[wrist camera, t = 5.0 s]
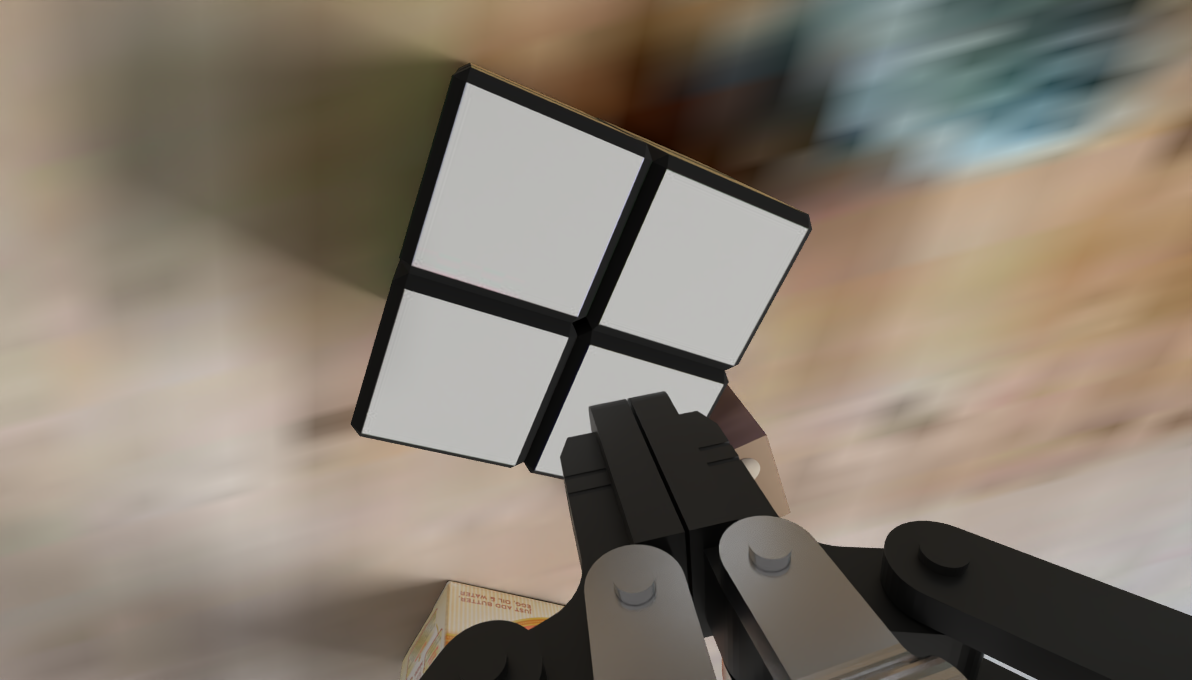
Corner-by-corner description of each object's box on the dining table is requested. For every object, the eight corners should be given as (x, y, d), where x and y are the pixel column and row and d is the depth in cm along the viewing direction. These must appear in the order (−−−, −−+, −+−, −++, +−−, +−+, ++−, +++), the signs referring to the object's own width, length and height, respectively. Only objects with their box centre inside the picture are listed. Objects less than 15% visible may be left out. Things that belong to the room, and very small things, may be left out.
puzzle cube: (605, 363, 28) (667, 507, 19) (390, 302, 24) (344, 441, 16) (697, 160, 24) (825, 220, 16) (462, 58, 21) (453, 60, 12)
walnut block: (722, 378, 29) (767, 435, 25) (746, 449, 32) (790, 513, 27) (631, 418, 29) (660, 483, 25) (662, 486, 32) (693, 556, 27)
